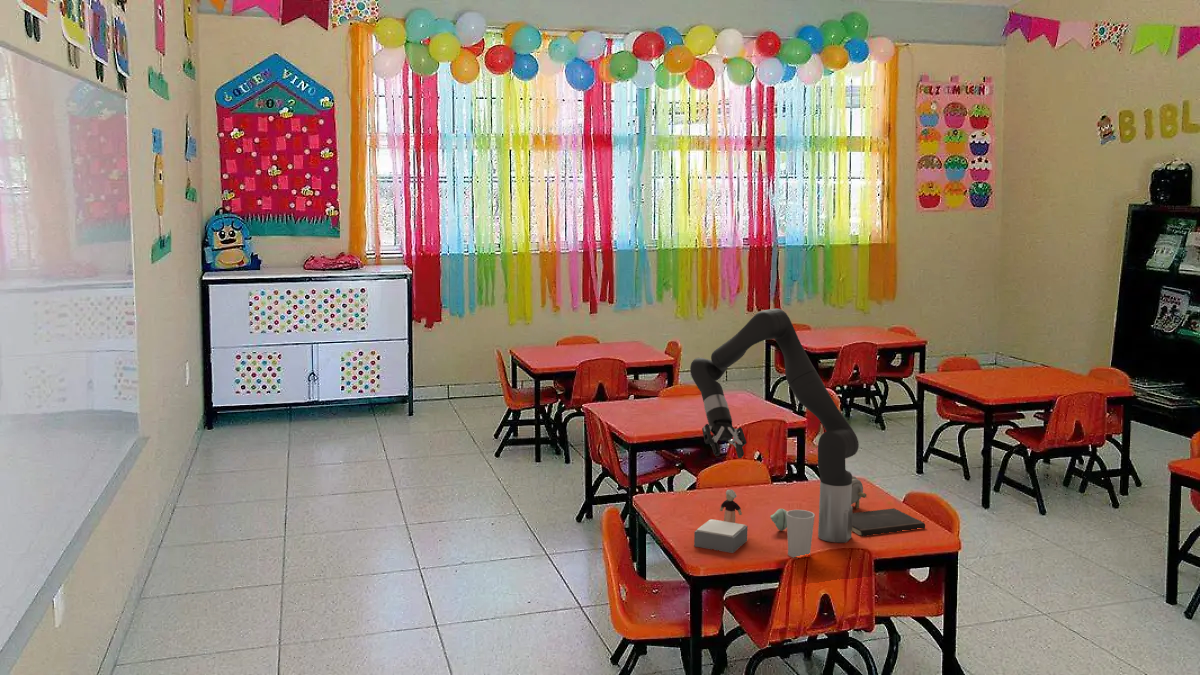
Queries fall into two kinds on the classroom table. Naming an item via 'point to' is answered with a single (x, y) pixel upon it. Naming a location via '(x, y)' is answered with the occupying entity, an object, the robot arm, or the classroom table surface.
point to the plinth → (720, 535)
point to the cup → (799, 532)
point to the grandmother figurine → (730, 507)
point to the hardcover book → (883, 522)
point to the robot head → (780, 519)
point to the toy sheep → (856, 491)
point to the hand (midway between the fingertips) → (729, 456)
